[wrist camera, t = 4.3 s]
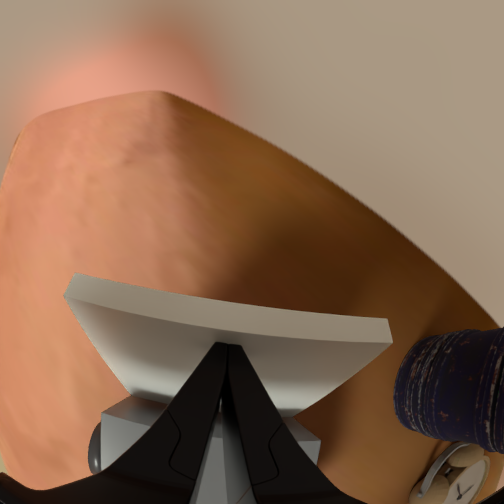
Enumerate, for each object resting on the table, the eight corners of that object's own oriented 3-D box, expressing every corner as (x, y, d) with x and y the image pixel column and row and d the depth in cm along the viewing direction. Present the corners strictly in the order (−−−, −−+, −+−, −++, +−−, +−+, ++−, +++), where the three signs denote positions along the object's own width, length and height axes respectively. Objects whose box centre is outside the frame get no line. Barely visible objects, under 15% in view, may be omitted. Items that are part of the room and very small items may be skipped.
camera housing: (277, 498, 15) (297, 536, 10) (113, 475, 14) (87, 508, 8) (292, 416, 18) (321, 440, 12) (116, 391, 17) (82, 405, 11)
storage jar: (380, 365, 20) (540, 361, 6) (448, 317, 22) (570, 281, 8) (403, 450, 17) (527, 488, 3) (465, 395, 20) (575, 394, 6)
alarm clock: (430, 545, 10) (420, 509, 11) (409, 530, 15) (389, 488, 15) (490, 482, 13) (496, 420, 14) (467, 473, 18) (462, 412, 19)
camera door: (289, 418, 17) (393, 342, 8) (133, 397, 16) (63, 295, 7) (289, 396, 18) (382, 301, 9) (138, 375, 17) (84, 255, 8)
